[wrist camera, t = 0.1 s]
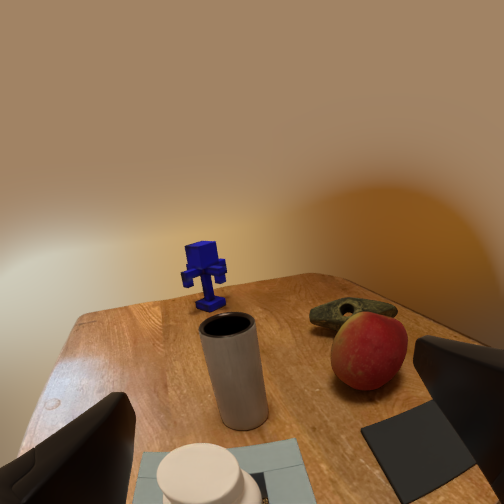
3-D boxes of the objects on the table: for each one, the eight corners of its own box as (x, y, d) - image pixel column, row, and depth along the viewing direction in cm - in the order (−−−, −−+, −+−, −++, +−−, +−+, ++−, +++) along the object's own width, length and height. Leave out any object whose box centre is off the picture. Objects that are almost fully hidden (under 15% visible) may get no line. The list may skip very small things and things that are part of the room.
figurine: (231, 296, 58) (222, 237, 55) (230, 312, 50) (220, 244, 48) (194, 301, 57) (183, 242, 55) (188, 317, 50) (175, 250, 47)
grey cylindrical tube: (270, 428, 23) (256, 332, 20) (221, 433, 23) (194, 340, 20) (266, 397, 27) (253, 308, 25) (222, 402, 27) (201, 314, 25)
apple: (414, 392, 23) (427, 322, 21) (337, 411, 23) (339, 341, 22) (388, 354, 30) (393, 292, 29) (323, 367, 31) (321, 304, 29)
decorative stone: (330, 355, 33) (329, 319, 32) (306, 329, 40) (304, 297, 39) (399, 329, 35) (402, 295, 34) (370, 310, 42) (370, 280, 41)
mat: (492, 451, 12) (494, 448, 12) (402, 506, 11) (404, 504, 11) (441, 397, 21) (442, 394, 21) (360, 430, 20) (360, 428, 20)
